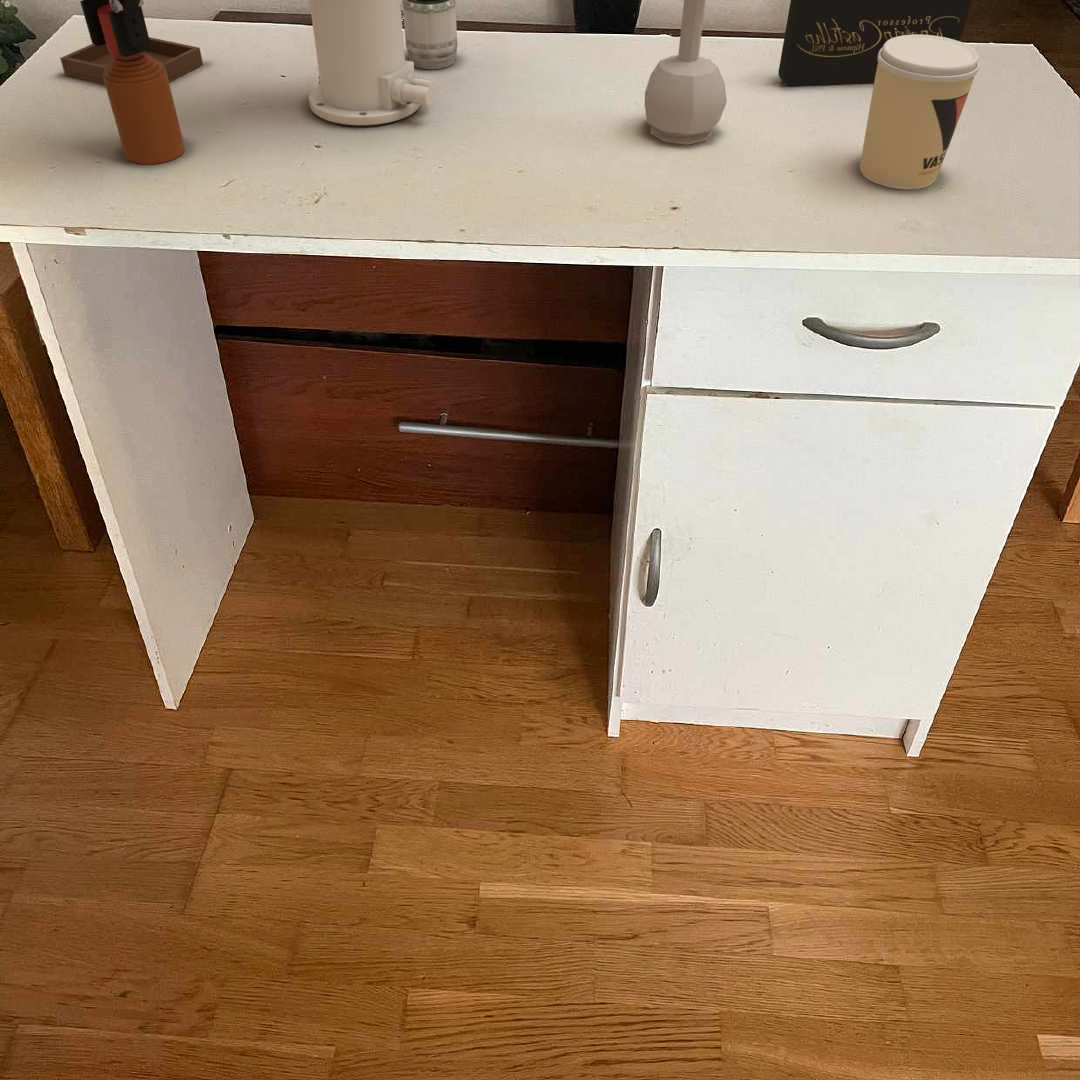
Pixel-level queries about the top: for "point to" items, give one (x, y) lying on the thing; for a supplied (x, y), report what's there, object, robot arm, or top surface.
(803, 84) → the nameplate
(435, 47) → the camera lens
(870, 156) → the coffee cup
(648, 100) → the potion bottle
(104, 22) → the cap
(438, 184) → the top surface
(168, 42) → the tray
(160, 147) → the bottle
